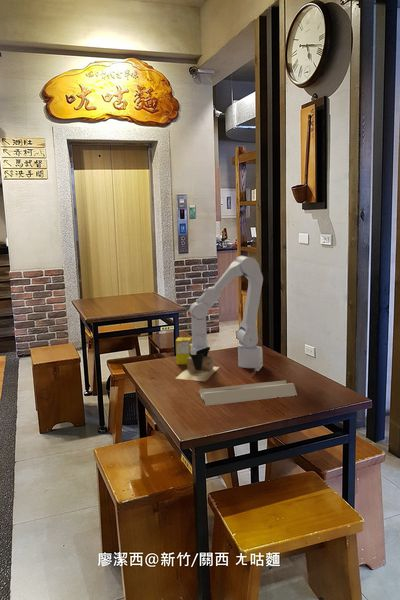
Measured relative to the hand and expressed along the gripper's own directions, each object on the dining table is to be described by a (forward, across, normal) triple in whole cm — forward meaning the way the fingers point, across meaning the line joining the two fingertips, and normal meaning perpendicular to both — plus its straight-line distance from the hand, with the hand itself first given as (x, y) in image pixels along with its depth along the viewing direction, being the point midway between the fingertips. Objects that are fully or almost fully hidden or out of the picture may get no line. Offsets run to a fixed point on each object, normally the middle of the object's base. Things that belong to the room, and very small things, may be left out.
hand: (200, 367), depth 191 cm
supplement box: (+2, -8, -10) cm, 13 cm away
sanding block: (+1, 0, 0) cm, 1 cm away
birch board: (+2, +3, 0) cm, 4 cm away
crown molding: (+3, +18, +23) cm, 29 cm away
